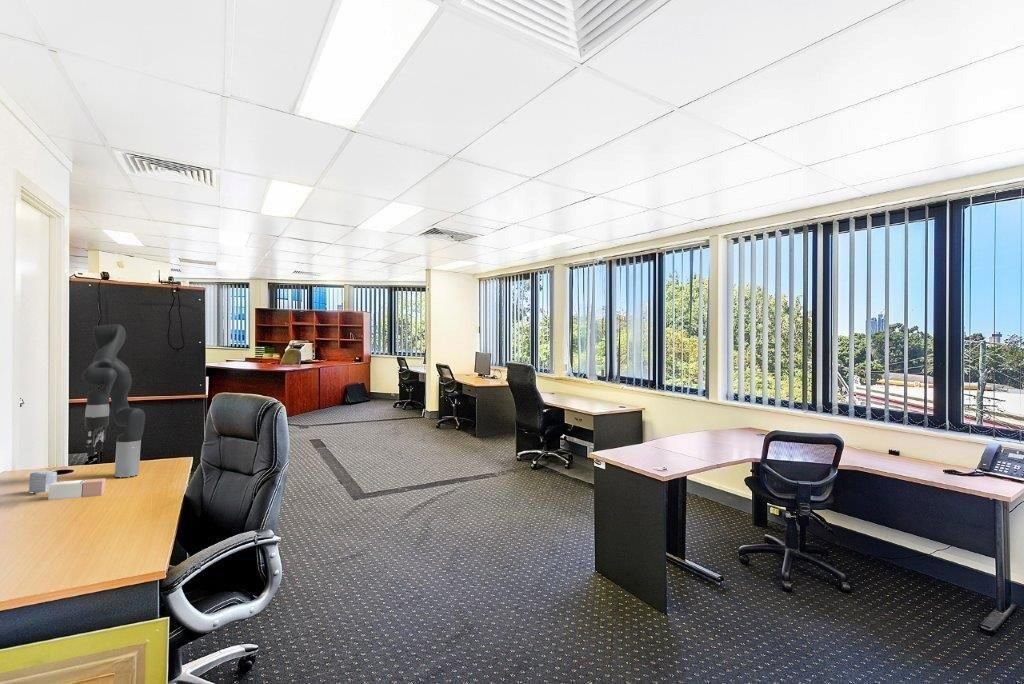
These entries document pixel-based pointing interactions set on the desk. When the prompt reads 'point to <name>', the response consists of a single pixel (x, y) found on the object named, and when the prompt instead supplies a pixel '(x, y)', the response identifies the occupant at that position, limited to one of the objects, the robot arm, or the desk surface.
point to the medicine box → (41, 481)
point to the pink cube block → (93, 487)
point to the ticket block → (66, 489)
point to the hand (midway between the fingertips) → (94, 453)
